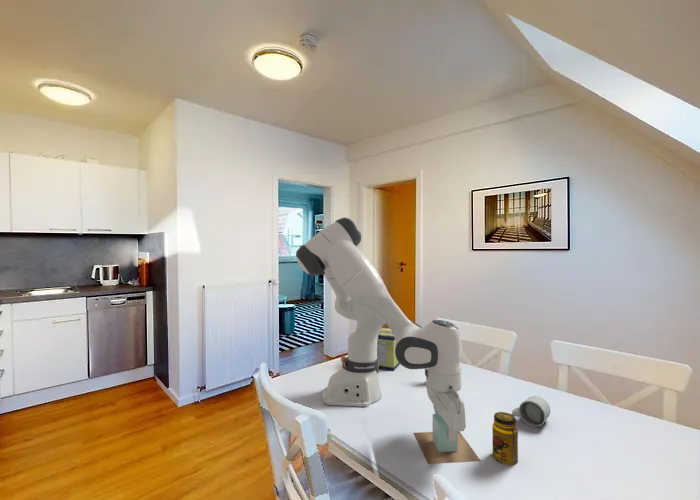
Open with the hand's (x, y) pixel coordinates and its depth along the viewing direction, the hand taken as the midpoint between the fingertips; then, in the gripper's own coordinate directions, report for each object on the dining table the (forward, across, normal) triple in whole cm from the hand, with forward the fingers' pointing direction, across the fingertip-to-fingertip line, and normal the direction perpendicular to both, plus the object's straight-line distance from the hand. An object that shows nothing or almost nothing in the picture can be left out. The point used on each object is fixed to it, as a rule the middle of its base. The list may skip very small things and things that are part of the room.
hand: (444, 429), depth 91 cm
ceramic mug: (+6, +13, -33) cm, 36 cm away
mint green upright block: (+5, 0, 0) cm, 5 cm away
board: (+6, 0, 0) cm, 6 cm away
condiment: (+6, -6, -15) cm, 17 cm away
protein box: (+6, +67, +3) cm, 67 cm away
